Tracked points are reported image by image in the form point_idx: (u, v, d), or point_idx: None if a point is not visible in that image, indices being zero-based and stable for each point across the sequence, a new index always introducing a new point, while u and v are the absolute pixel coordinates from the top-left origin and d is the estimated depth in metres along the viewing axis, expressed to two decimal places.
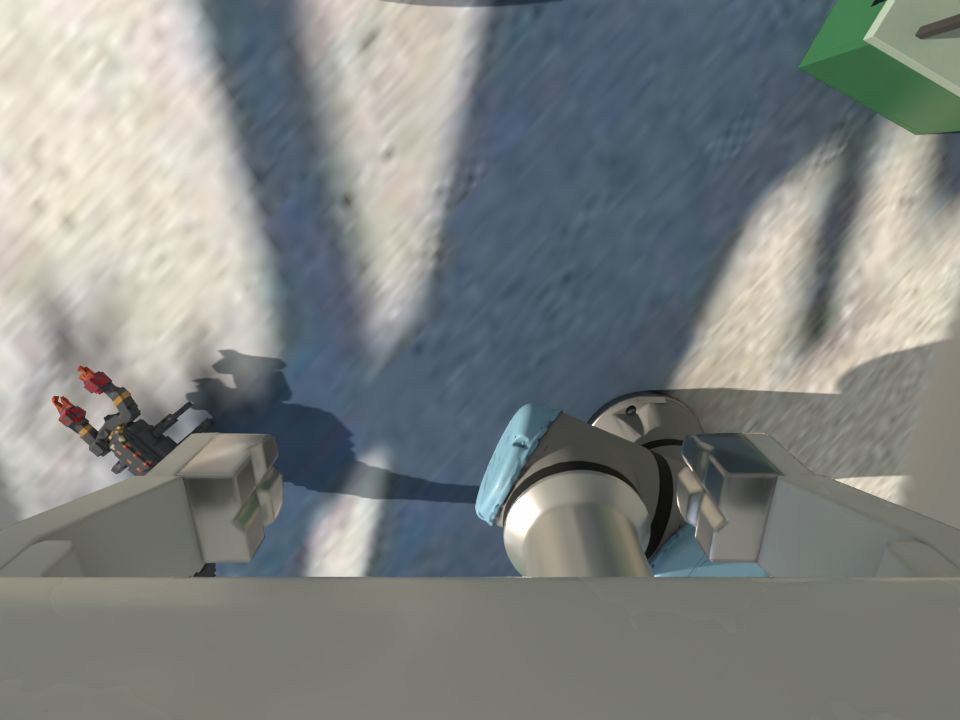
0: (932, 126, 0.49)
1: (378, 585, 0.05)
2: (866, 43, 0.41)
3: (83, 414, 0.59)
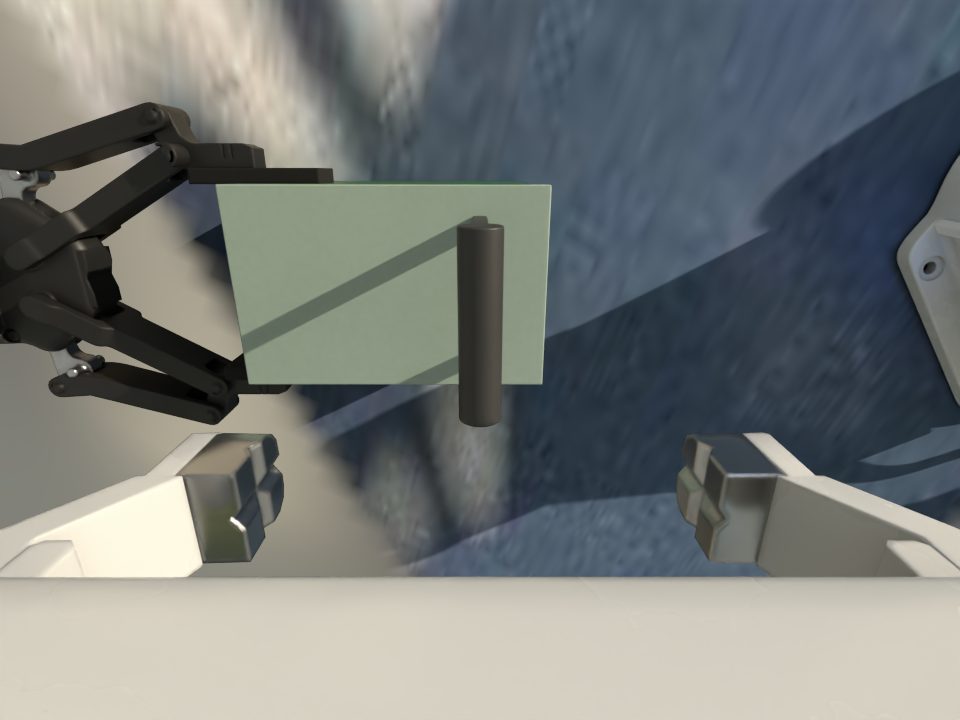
0: None
1: (378, 585, 0.05)
2: None
3: None
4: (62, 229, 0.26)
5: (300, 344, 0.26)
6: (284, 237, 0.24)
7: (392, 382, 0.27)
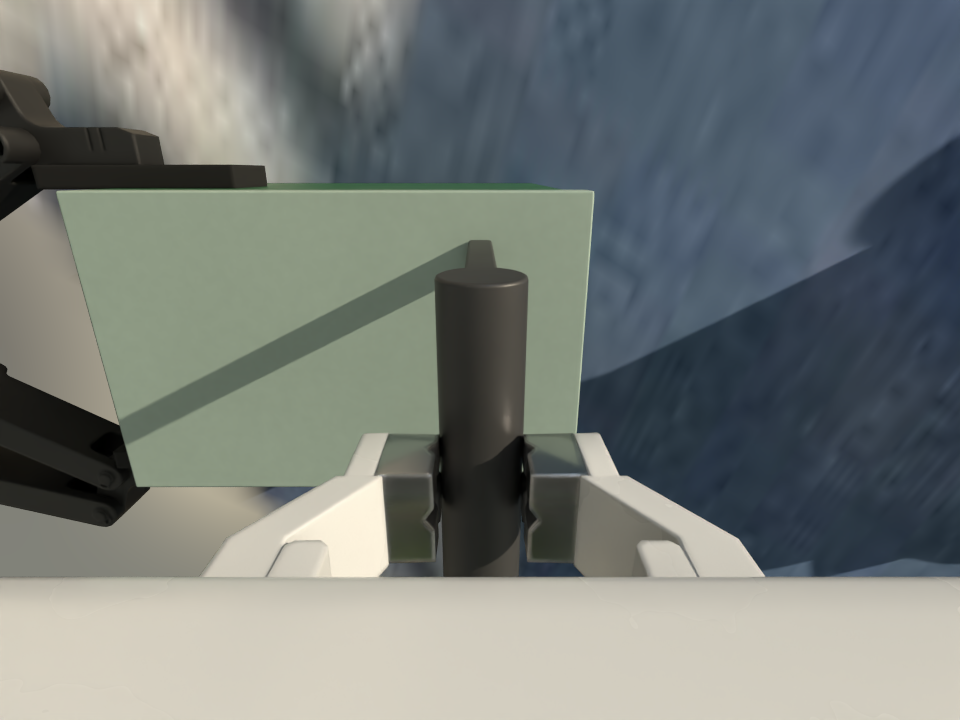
0: None
1: (378, 585, 0.05)
2: None
3: None
4: None
5: (209, 430, 0.17)
6: (173, 273, 0.15)
7: None
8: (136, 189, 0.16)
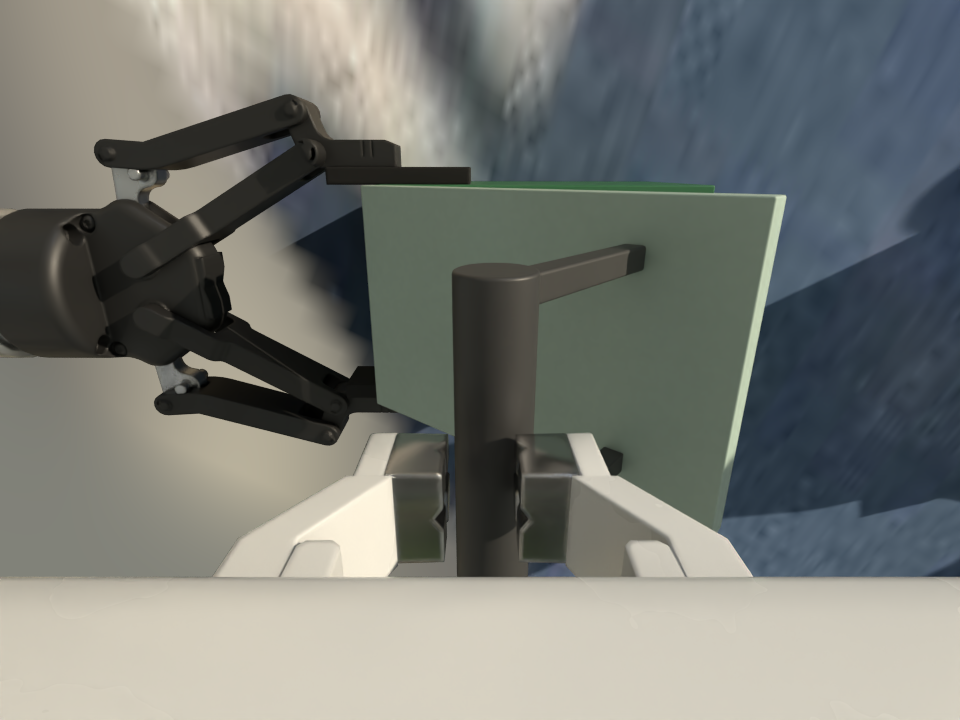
0: None
1: (378, 585, 0.05)
2: None
3: None
4: (185, 234, 0.24)
5: (418, 375, 0.22)
6: (411, 249, 0.20)
7: None
8: (408, 184, 0.22)
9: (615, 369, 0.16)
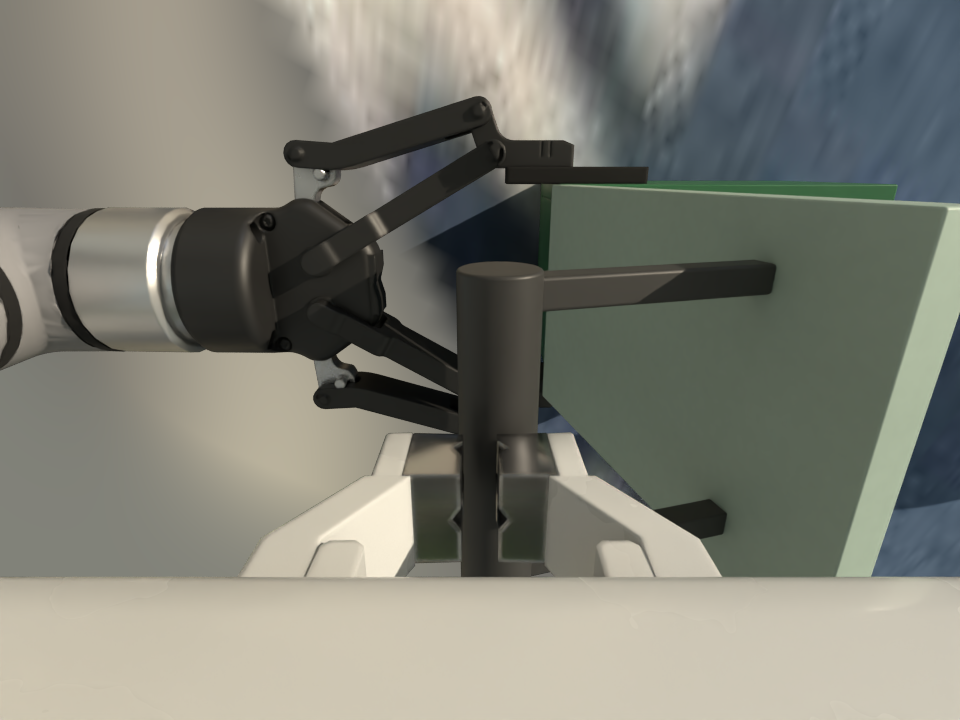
0: None
1: (378, 585, 0.05)
2: None
3: None
4: (365, 232, 0.24)
5: (571, 375, 0.22)
6: (578, 249, 0.20)
7: (622, 475, 0.18)
8: (593, 184, 0.23)
9: (730, 410, 0.13)
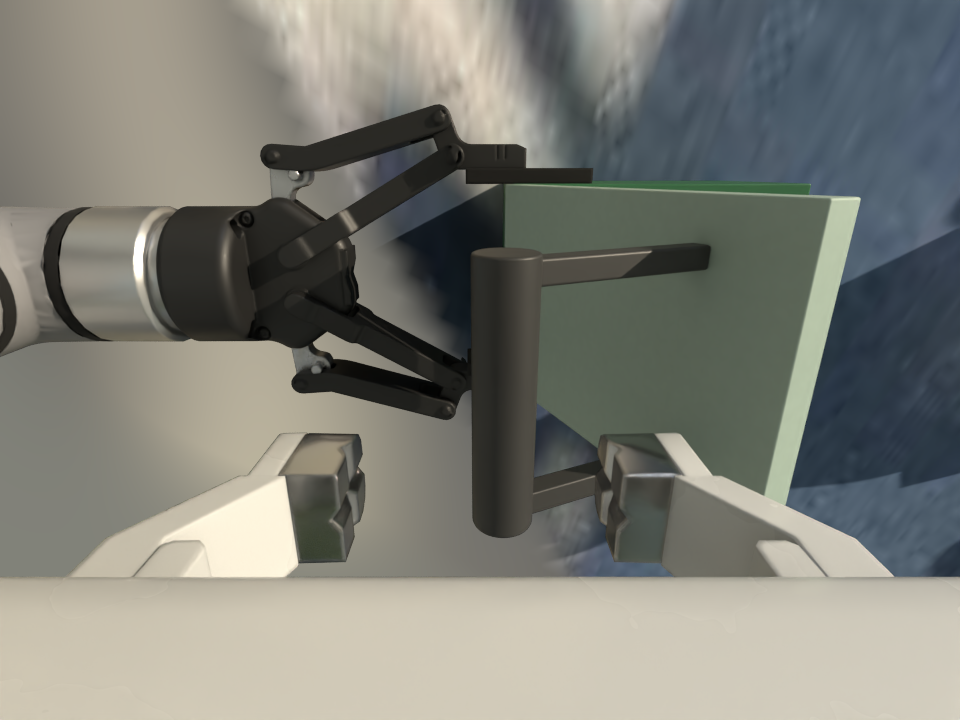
0: None
1: (378, 585, 0.05)
2: None
3: None
4: (337, 228, 0.26)
5: None
6: (534, 241, 0.23)
7: (585, 436, 0.21)
8: None
9: (678, 366, 0.16)
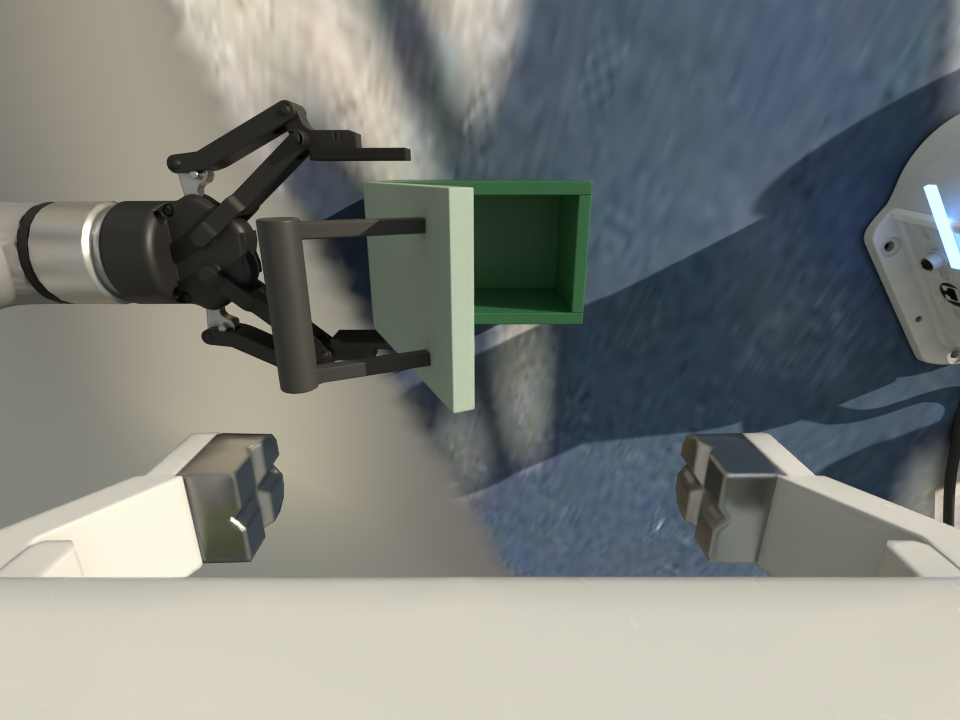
0: None
1: (378, 585, 0.05)
2: None
3: None
4: (234, 217, 0.36)
5: (382, 306, 0.33)
6: None
7: None
8: (394, 181, 0.34)
9: (424, 297, 0.25)
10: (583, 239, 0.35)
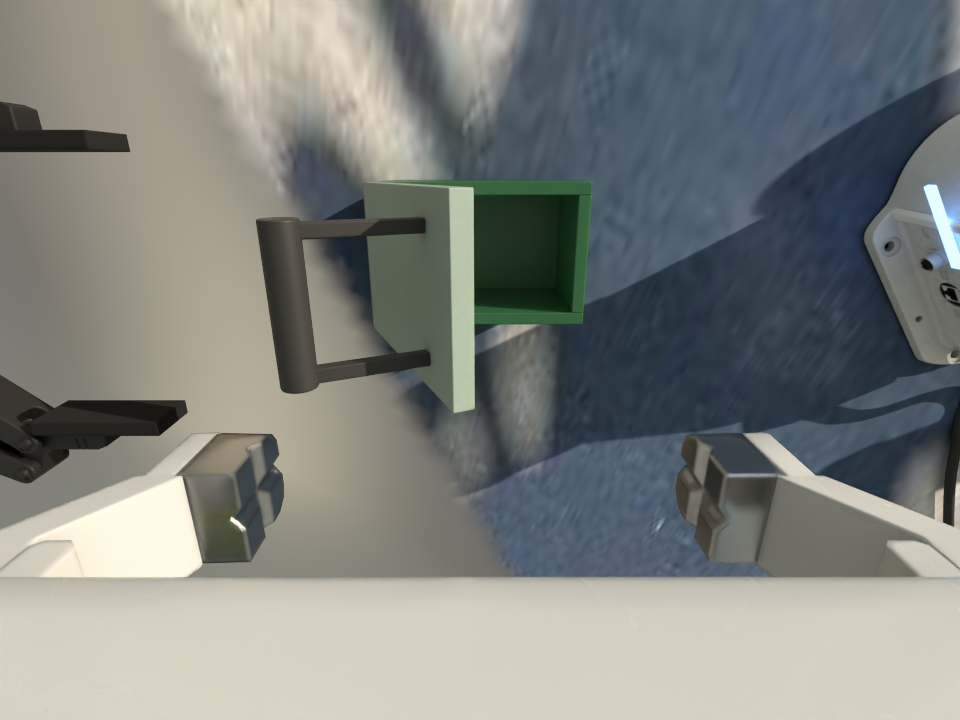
0: (405, 180, 0.40)
1: (378, 585, 0.05)
2: None
3: None
4: None
5: (382, 306, 0.33)
6: None
7: None
8: (394, 181, 0.34)
9: (424, 297, 0.25)
10: (583, 239, 0.35)
